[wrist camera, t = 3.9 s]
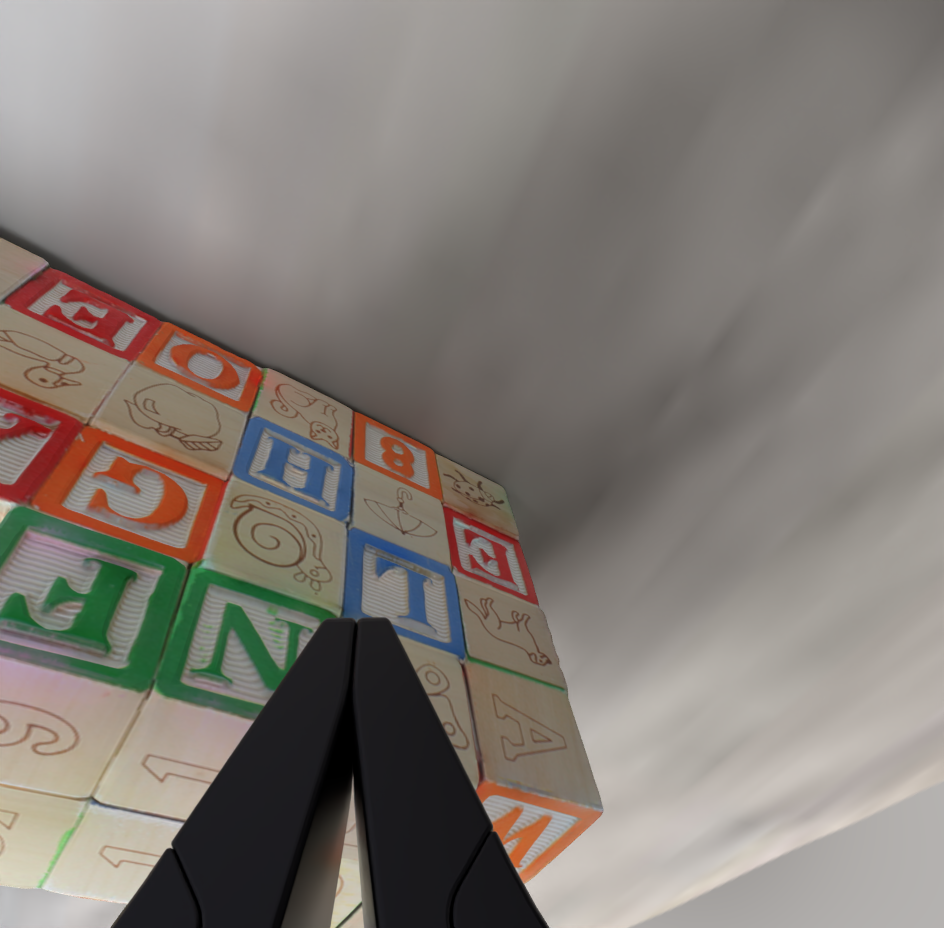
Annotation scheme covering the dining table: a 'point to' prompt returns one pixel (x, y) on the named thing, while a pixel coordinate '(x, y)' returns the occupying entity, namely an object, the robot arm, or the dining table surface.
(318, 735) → the robot arm
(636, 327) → the dining table surface
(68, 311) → the stack of blocks
